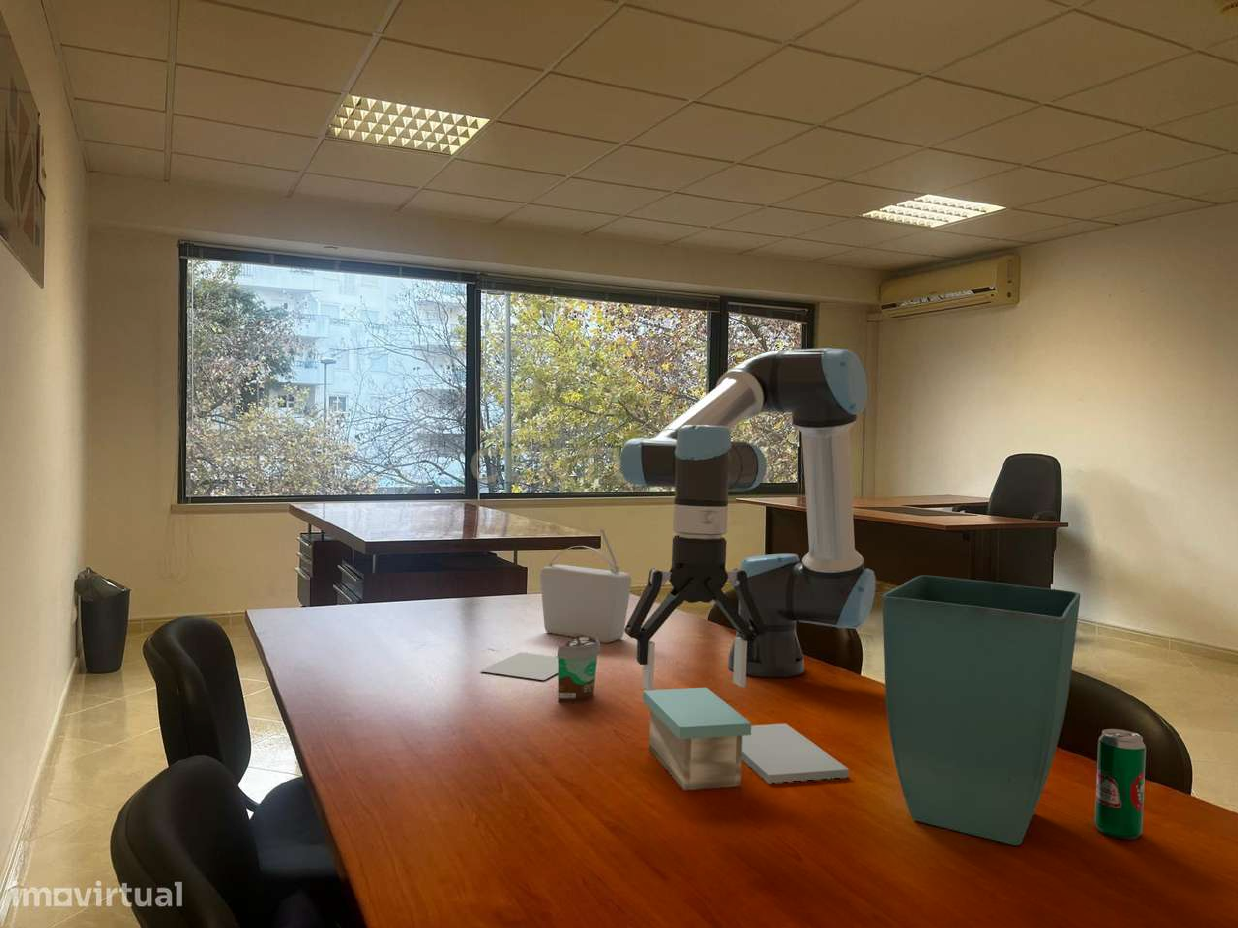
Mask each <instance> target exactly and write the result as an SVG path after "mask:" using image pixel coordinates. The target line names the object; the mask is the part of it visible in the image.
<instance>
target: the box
mask: <svg viewBox="0 0 1238 928" xmlns="http://www.w3.org/2000/svg"><path fill="white" fill-rule="evenodd" d="M648 737H649V738H648V749H649V750H650V752H651V753H652V754H653V755H654V756H655V758H656V759H657V761H659V763H660V764H661V765H662V766H663V767H664V768H665V769H667V770H668V771H669V772H668V771H667V772H668V774H670V776H671V775H672V776H671V777H672V778H673V779H674V780H675V782H676V783H677V784H678V785H679V786H680V788H681V789H682V790H683V791H692V790H694V791H695V790H706V789H707V790H709V789H718V788H734V787H735V788H736V787H741V786H742V762H743V760H742V736H727V737H710V738H694V739H679V738H678V737H677V736H676V735H675V734H674V733H673V732H672V731H671V730H670V729H669V728H668V727H667V726H666V725H665V724H664V723H663V722H662V721H661V720H660V718H659V717H658V716H657V715H656V714H655V713H654V712H653V711H652V710H651V709H650V708H649V735H648Z"/></svg>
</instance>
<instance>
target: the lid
mask: <svg viewBox="0 0 1238 928" xmlns="http://www.w3.org/2000/svg"><path fill="white" fill-rule="evenodd" d="M642 692H643V693H642V702H643V703H644V704H645V706H647V707H648V709H649V710H650V709H651V710H652V711H653V712H654V713H655V714H656V715H657V716H658V717H659V718H660V720H661V721H662V722H663V723H664V724H665V725H666V726H667V727H668V728H669V729H670V730H671V731H672V732H673V733H674V734H675V735H676V736H677V737H678V738H679V739H694V738H710V737H727V736H743V735H751V726H752V722H750V720H748V719H747V718H746V717H744V716H743V715H742V714H740V712H738V711H736V710H735V708H733V707H732V706H731V705H730V704H727V703H726V702H725V701H724V700H723V699H722V698H720V697H719V696H718V695H717V694H715V693H714V692H713V691H711V690H710V689H709V688H708V687H693V688H691V687H690V688H670V689H653V690H649V691H648V690H647V689H646V690H643V691H642Z"/></svg>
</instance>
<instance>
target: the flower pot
mask: <svg viewBox="0 0 1238 928" xmlns="http://www.w3.org/2000/svg"><path fill="white" fill-rule="evenodd" d="M1080 604H1081V593H1080V592H1078V591H1071V590H1065V589H1056V588H1048V587H1038V586H1028V585H1022V584H1021V585H1020V584H1010V583H1002V582H992V581H991V582H990V581H983V580H972V579H964V578H953V577H948V576H946V577H945V576H936V575H918V576H916V577H914V578H912V579H910V580H908V581H906V582H904V583H903V584H900V585H899V586H896V587H895V588H893V589H891V590H888V591H887V592H885V593H883V594H882V595H881V606H882V607H881V610H882V630H883V634H882V635H883V657H884V660H883V661H884V689H885V708H886V717H887V725H888V732H889V738H890V743H891V748H892V755H893V760H894V764H895V768H896V773H897V776H898V779H899V780H898V781H899V784H900V788H901V791H902V794H903V797H904V799H905V803H906V805H907V808H908V809H907V810H908V812H909V814H910V817H911V818H912V819H913V821H916V822H920V823H924V824H926V825H927V824H928V825H932V826H936V827H939V828H943V829H946V830H947V829H948V830H951V831H955V832H959V833H963V834H967V835H971V836H975V837H980V838H982V839H987V840H992V841H995V842H999V843H1004V844H1007V845H1010V846H1019V845H1021V844H1022V843H1023V840H1024V838H1025V836H1026V833H1027V830H1028V828H1029V826H1030V822H1031V821H1032V818H1033V815H1034V814H1035V811H1036V808H1037V805H1038V803H1039V801H1040V798H1041V795H1042V792H1043V790H1044V788H1045V785H1046V781H1047V779H1048V776H1049V773H1050V770H1051V767H1052V765H1053V761H1054V758H1055V754H1056V751H1057V748H1058V744H1059V741H1060V740H1059V739H1060V736H1061V731H1062V727H1063V725H1064V719H1065V715H1066V710H1067V709H1066V708H1067V704H1068V703H1067V702H1068V698H1069V692H1070V691H1069V690H1070V683H1071V676H1072V667H1073V660H1074V651H1075V643H1076V642H1075V641H1076V634H1077V626H1078V619H1079V611H1080Z"/></svg>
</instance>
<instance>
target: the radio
mask: <svg viewBox="0 0 1238 928" xmlns="http://www.w3.org/2000/svg"><path fill="white" fill-rule="evenodd" d="M600 534H602V538H603V539H604V542H605V544H606V547H607V550H608V553H609V554H610V557H611V560H612V561H613V563H612V561H610V559H609V558H608V557H607V556H606V555H605V553H602V552H601V551H600V550H597V549H596V548H593V547H589V546H585V545H576V546H574V545H573V546H570V547H569V548H565V549H563V550H561V551H560V552H558V554H556V555H555V556H554V557H553V558H552V560H551V562H550V563H549V565H547V566H544V567H541V570H540V572H539V578H540V591H541V601H542V602H541V604H542V611H543V612H542V613H543V625H544V630H545V632H546V633H548V634H551V633H552V635H557V634H558V636H562V635H564V636H563V637H568V636H569V637H568V638H574V637H575V632H576V633H585V634H589V635H593V636H595V637H597V638H598V641H599V642H600V643H602V644H608V643H611V642H615V641H619V640H621V639H622V638H623V636H624V633H625V632H624V629H625V627H626V619H627V614H628V608H629V607H628V605H629V599H630V593H631V587H632V578H631V576H630V574H629V573H627V572H623V571H620V566H619V565H618V563H617V560H616V558H615V555H614V553H613V551H612V548H611V545H610V543H609V541H608V538H607V536H606V534H605V529H604V528H602V529H600ZM581 547H582V548H585V549H589V550H592V551H594V552H596V553H597V554H598V555H599V556H601V557H602V558H603V559H604V560H605V561H606V562H607V563H608V564H609V566H610V570H606V569H599V568H591V567H584V566H575V565H567V564H559V563H558V564H554V563H555V561H556V560H557V558H558V557H559V556H561V555H562V554H563V553H564V552H565V551H567V550H570V549H573V548H581Z"/></svg>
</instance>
